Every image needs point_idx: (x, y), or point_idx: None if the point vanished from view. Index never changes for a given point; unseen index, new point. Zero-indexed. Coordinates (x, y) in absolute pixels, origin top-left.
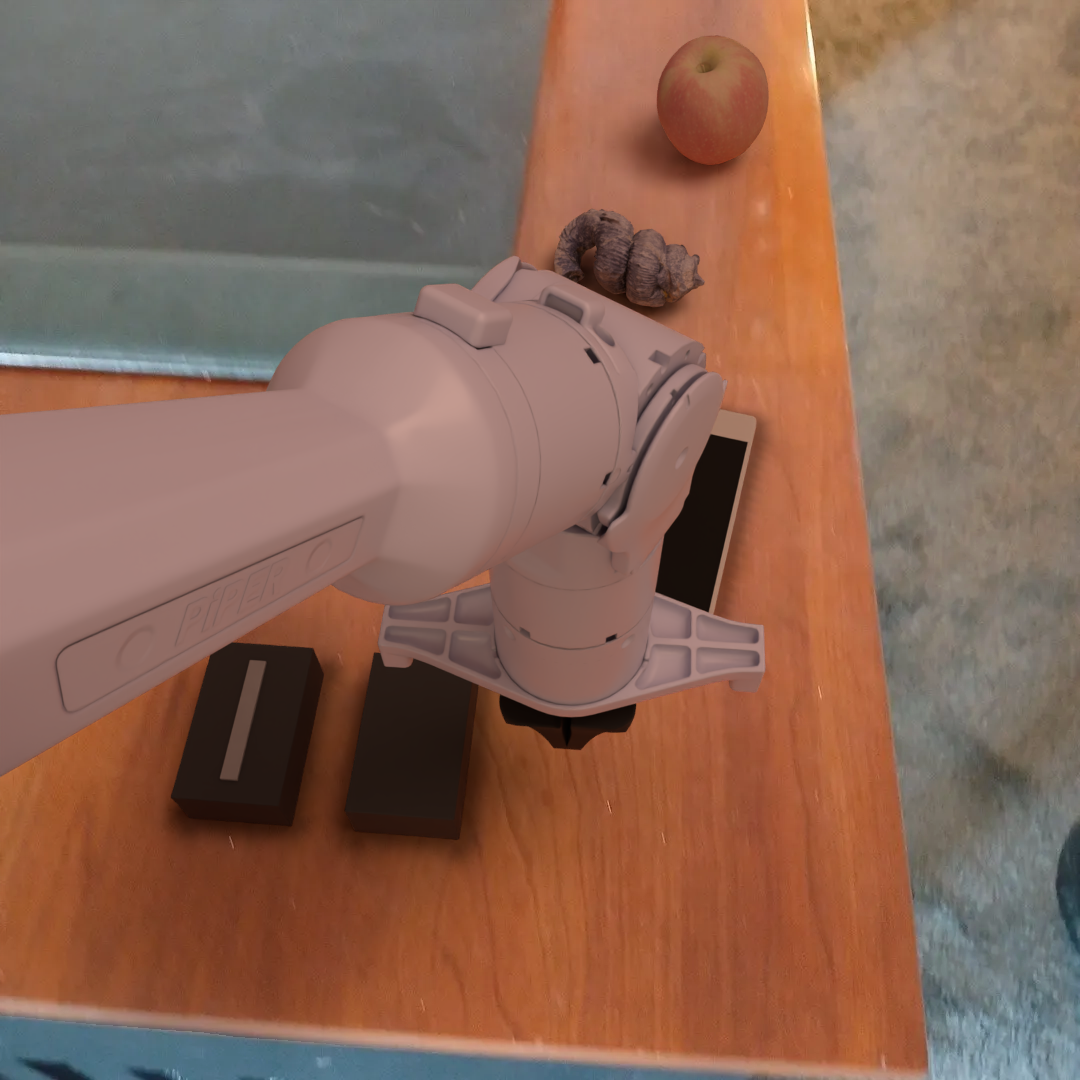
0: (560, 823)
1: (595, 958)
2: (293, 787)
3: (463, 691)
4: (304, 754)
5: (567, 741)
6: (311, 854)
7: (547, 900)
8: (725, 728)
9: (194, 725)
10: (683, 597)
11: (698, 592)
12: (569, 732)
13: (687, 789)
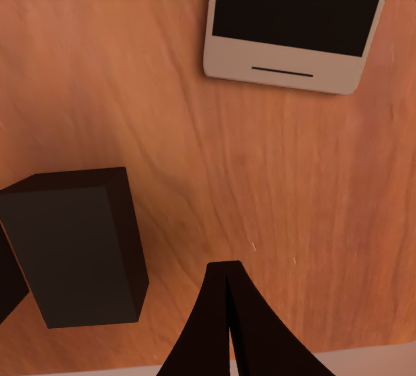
0: None
1: None
2: (7, 287)
3: (105, 222)
4: (4, 253)
5: (229, 324)
6: None
7: None
8: (353, 172)
9: None
10: (335, 31)
11: (355, 19)
12: (233, 341)
13: (315, 226)
